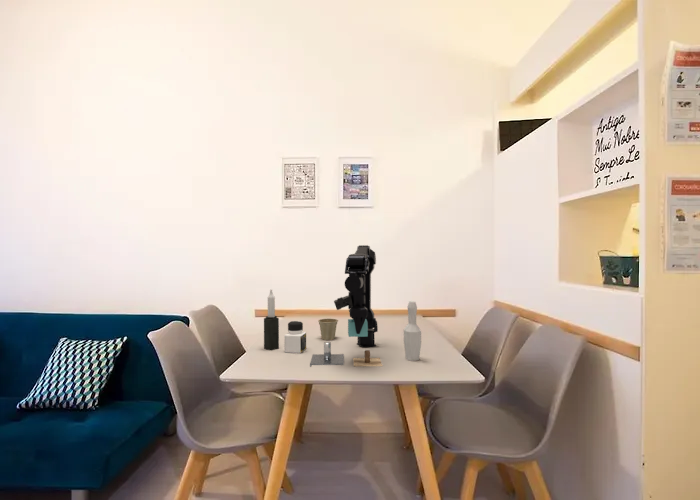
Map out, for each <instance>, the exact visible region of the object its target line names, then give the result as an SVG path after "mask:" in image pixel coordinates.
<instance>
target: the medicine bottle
mask: <svg viewBox="0 0 700 500" xmlns="http://www.w3.org/2000/svg"><path fill="white" fill-rule="evenodd" d="M303 329H304V323H303V322H302V321H300V320H292V321H289V322H288V323H287V331H288V332H287V333H286V334H284V335H283V336H284V337H283V338H284V342H283V343H284V344H283V345H284V346H283V347H284V351H283V352H284V353H291V354H301V353H303V352H304V351H305V350H306V349H307V332H306V331H303Z"/></svg>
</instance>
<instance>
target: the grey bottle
mask: <svg viewBox="0 0 700 500" xmlns="http://www.w3.org/2000/svg"><path fill="white" fill-rule="evenodd" d="M417 312H418V306H417V302H416V301H412V300H411V301H408V304H407V317H408V318H407V320H408V321H407V322H408V323H407V324H406V326H404V329H403V346H404V354H405V359H406V360H407V361H411V362H412V361H419V360H420V355H421V347H422V330H421V329H420V327H419V325H417V314H418V313H417Z"/></svg>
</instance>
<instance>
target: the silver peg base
mask: <svg viewBox="0 0 700 500" xmlns="http://www.w3.org/2000/svg"><path fill="white" fill-rule="evenodd" d="M344 357H345V355H344V353H339V354H337V353H334V354H333V353H332V343H331V342H330V341H324V342H323V353H322V354H321V353H320V354H319V353H317V354H315V353H313V354H312V355H311V359H310V362H309V367H312V366H344Z"/></svg>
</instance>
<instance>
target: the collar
mask: <svg viewBox="0 0 700 500" xmlns="http://www.w3.org/2000/svg"><path fill="white" fill-rule="evenodd" d="M347 333H348V334H347V335H348V337H350V338H351V337H352V338H353V337H355V338H356V337H357V338H358V337H366V336H368V322H367V320H366V319H365V322H364V324H363V327H362V329H361V332H360V334H357V333H356V328H355V323H354V320H353V319H352V318H350V319H349V318H348V319H347Z"/></svg>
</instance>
